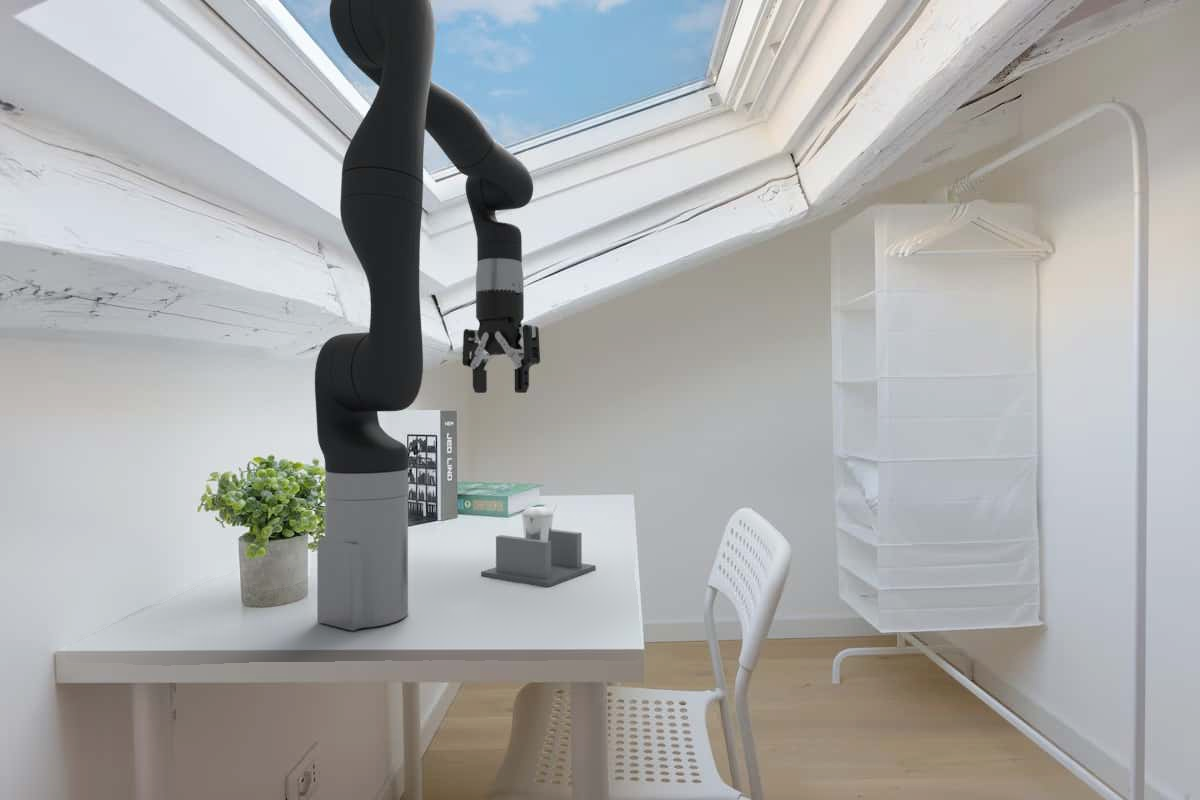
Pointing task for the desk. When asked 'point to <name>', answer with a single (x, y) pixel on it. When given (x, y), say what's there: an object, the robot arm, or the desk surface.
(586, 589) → the desk surface
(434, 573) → the desk surface
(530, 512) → the milkshake
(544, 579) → the cradle
